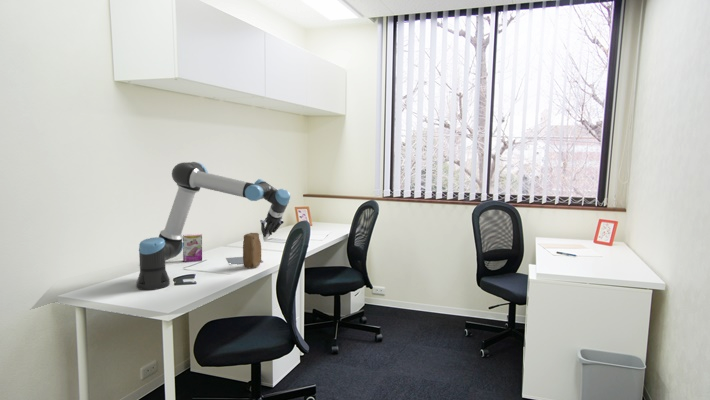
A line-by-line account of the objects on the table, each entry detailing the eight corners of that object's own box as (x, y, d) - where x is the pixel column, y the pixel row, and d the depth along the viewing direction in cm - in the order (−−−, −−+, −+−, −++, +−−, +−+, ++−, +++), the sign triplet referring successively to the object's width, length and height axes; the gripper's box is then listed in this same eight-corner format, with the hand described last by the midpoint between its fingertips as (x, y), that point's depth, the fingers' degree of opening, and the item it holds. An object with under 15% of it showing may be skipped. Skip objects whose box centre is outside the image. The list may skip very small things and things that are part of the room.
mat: (230, 265, 261) (230, 264, 261) (226, 258, 278) (226, 257, 278) (263, 262, 269) (263, 261, 269) (257, 256, 286) (257, 255, 286)
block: (252, 269, 252) (251, 235, 250) (241, 267, 255) (241, 234, 253) (263, 265, 262) (263, 232, 260) (253, 263, 265) (252, 231, 263)
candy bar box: (183, 262, 266) (182, 235, 265) (183, 260, 271) (182, 234, 269) (202, 260, 271) (202, 234, 269) (202, 259, 275) (201, 233, 274)
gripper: (265, 219, 222) (255, 245, 237) (289, 217, 228) (277, 243, 244) (262, 208, 225) (251, 234, 241) (285, 206, 232) (273, 232, 248)
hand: (264, 239), depth 243 cm, fingers closed
